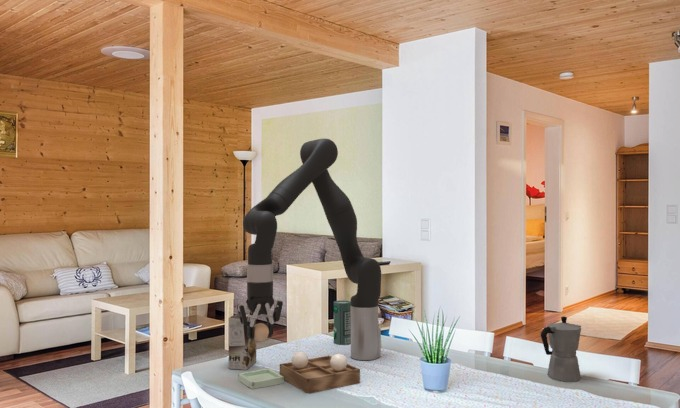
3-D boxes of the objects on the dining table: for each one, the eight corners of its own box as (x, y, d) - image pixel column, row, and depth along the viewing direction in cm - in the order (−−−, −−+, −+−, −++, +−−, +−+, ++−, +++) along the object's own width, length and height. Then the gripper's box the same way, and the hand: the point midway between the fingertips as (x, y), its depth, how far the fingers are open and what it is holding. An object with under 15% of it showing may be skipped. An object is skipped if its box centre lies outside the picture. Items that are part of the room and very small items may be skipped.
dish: (269, 374, 180) (269, 368, 180) (283, 383, 172) (283, 376, 172) (238, 379, 175) (238, 373, 175) (251, 389, 167) (251, 382, 167)
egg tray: (329, 368, 186) (329, 355, 186) (359, 382, 172) (359, 369, 172) (279, 377, 177) (279, 364, 177) (307, 393, 163) (307, 379, 163)
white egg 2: (341, 367, 177) (341, 350, 177) (350, 371, 172) (350, 354, 172) (326, 370, 174) (326, 353, 174) (335, 374, 170) (335, 357, 170)
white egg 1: (303, 365, 179) (303, 348, 179) (311, 369, 175) (311, 352, 175) (288, 367, 177) (288, 350, 177) (296, 371, 172) (296, 354, 172)
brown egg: (264, 337, 177) (264, 320, 177) (272, 341, 172) (271, 323, 172) (249, 339, 174) (248, 322, 174) (256, 343, 170) (256, 325, 170)
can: (340, 340, 222) (340, 299, 222) (354, 342, 219) (353, 301, 218) (330, 343, 217) (330, 302, 217) (344, 345, 214) (344, 304, 214)
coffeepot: (567, 369, 183) (567, 311, 183) (592, 378, 175) (593, 317, 174) (529, 376, 177) (529, 316, 176) (553, 386, 168) (554, 322, 168)
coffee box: (247, 370, 185) (247, 318, 184) (227, 369, 186) (227, 317, 186) (257, 362, 194) (256, 312, 193) (238, 361, 195) (238, 311, 195)
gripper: (276, 276, 180) (276, 332, 180) (231, 279, 172) (232, 338, 173) (288, 279, 174) (288, 337, 174) (242, 283, 166) (242, 344, 166)
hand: (260, 337), depth 173 cm, fingers closed on brown egg, 5 cm apart
